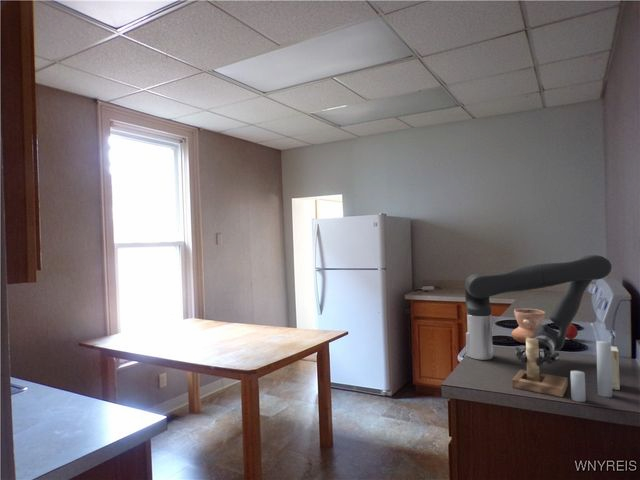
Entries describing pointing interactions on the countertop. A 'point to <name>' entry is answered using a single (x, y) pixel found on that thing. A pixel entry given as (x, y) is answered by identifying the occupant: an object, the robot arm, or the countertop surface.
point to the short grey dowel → (578, 386)
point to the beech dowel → (532, 359)
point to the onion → (571, 332)
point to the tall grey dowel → (604, 368)
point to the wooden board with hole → (541, 383)
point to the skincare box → (615, 368)
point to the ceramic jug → (527, 323)
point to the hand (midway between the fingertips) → (530, 361)
